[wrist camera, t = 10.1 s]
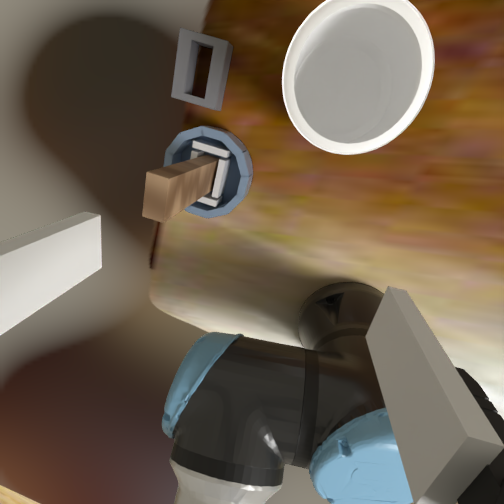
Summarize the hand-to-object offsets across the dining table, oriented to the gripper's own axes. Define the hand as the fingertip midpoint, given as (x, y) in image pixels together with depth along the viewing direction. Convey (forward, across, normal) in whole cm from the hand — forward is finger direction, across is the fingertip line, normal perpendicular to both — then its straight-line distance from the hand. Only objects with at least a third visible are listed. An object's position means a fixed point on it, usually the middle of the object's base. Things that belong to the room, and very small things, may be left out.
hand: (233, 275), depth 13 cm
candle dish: (+29, +9, +1) cm, 30 cm away
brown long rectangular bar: (+28, +9, +1) cm, 29 cm away
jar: (+29, -4, -11) cm, 31 cm away
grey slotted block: (+28, +12, -10) cm, 32 cm away
